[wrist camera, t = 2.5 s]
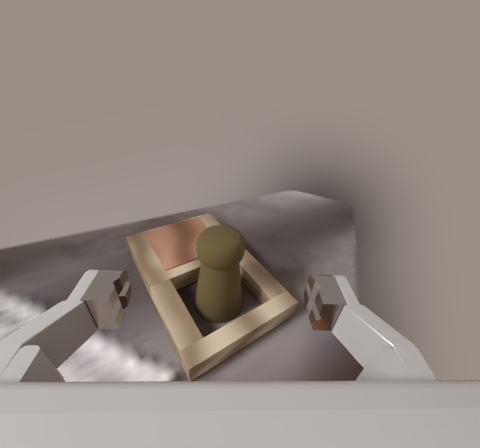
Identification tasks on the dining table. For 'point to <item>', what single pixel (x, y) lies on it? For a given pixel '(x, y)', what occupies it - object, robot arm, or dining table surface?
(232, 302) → the cork
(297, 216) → the dining table surface
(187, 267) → the wooden frame
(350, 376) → the dining table surface
